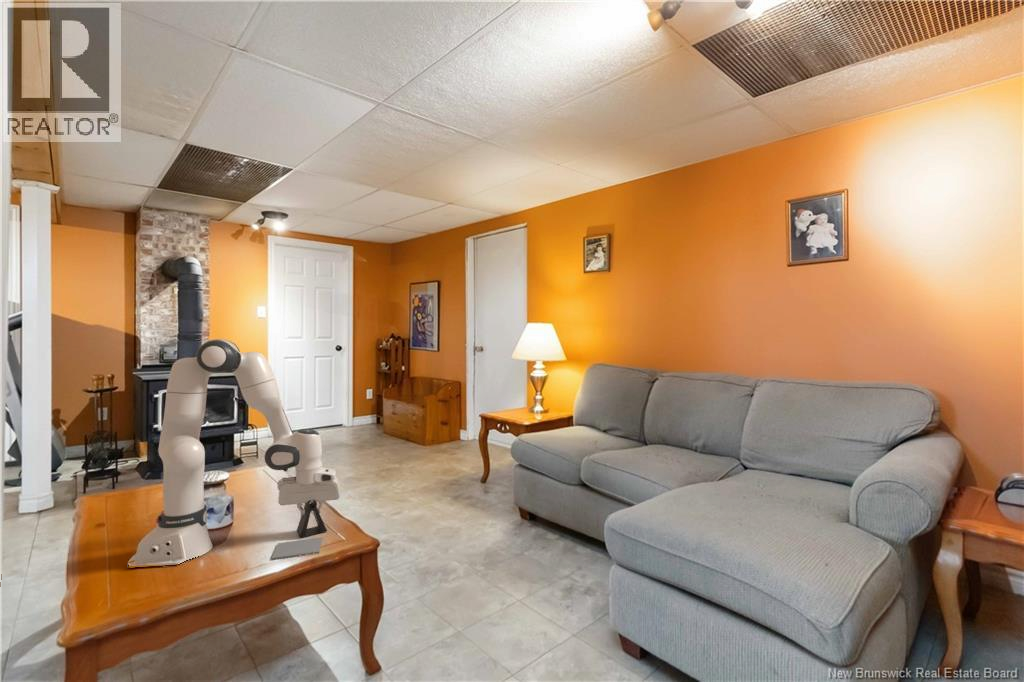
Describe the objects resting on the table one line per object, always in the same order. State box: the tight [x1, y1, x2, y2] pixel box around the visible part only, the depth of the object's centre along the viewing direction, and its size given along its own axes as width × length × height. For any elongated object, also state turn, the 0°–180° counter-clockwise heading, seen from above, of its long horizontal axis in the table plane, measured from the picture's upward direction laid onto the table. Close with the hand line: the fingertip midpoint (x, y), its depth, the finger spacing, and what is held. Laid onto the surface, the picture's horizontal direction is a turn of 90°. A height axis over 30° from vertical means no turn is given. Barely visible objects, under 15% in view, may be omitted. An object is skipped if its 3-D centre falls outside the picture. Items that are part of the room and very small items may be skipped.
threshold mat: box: [270, 536, 323, 561], centre depth 161 cm, size 14×11×1 cm
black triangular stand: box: [296, 500, 328, 539], centre depth 173 cm, size 9×6×12 cm, turn 123°
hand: (310, 514), depth 173 cm, fingers closed on black triangular stand, 3 cm apart
